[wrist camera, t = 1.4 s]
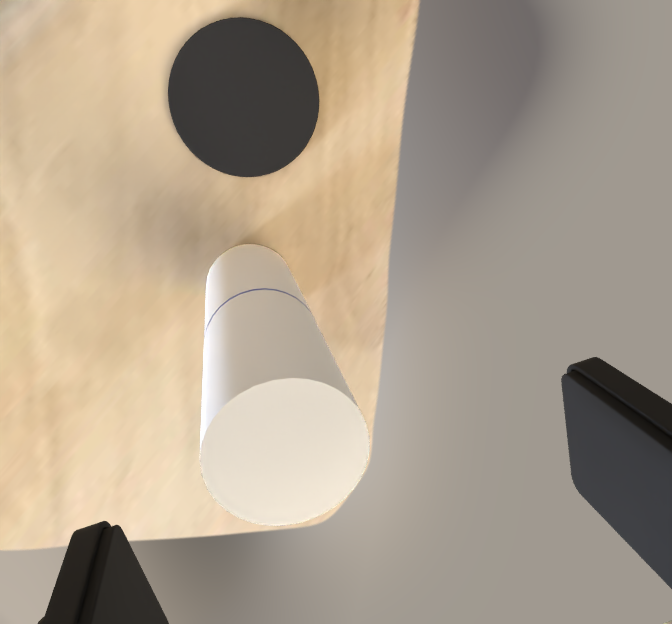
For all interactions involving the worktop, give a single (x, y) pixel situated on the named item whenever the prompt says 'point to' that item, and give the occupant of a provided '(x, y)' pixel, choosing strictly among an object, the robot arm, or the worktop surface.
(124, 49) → the worktop surface
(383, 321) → the worktop surface
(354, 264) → the worktop surface
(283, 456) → the cylindrical container
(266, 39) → the coaster
